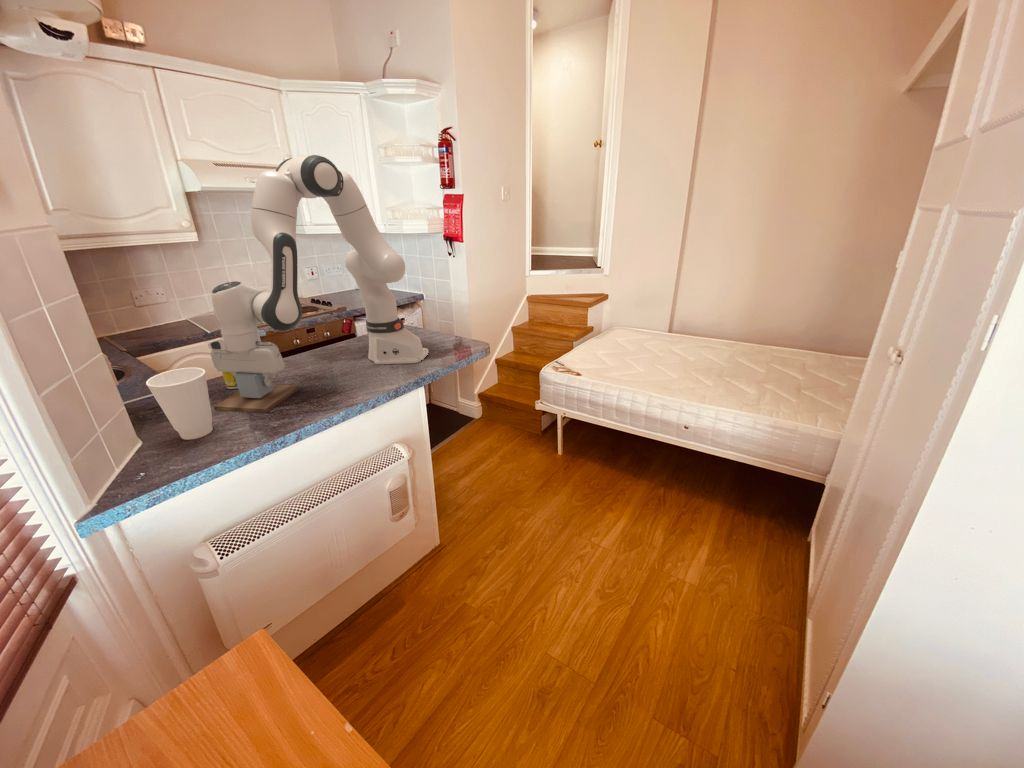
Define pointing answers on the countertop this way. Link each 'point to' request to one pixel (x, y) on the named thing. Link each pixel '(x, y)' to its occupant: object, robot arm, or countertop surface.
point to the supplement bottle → (229, 380)
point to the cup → (184, 400)
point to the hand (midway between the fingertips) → (255, 385)
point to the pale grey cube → (252, 385)
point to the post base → (257, 400)
